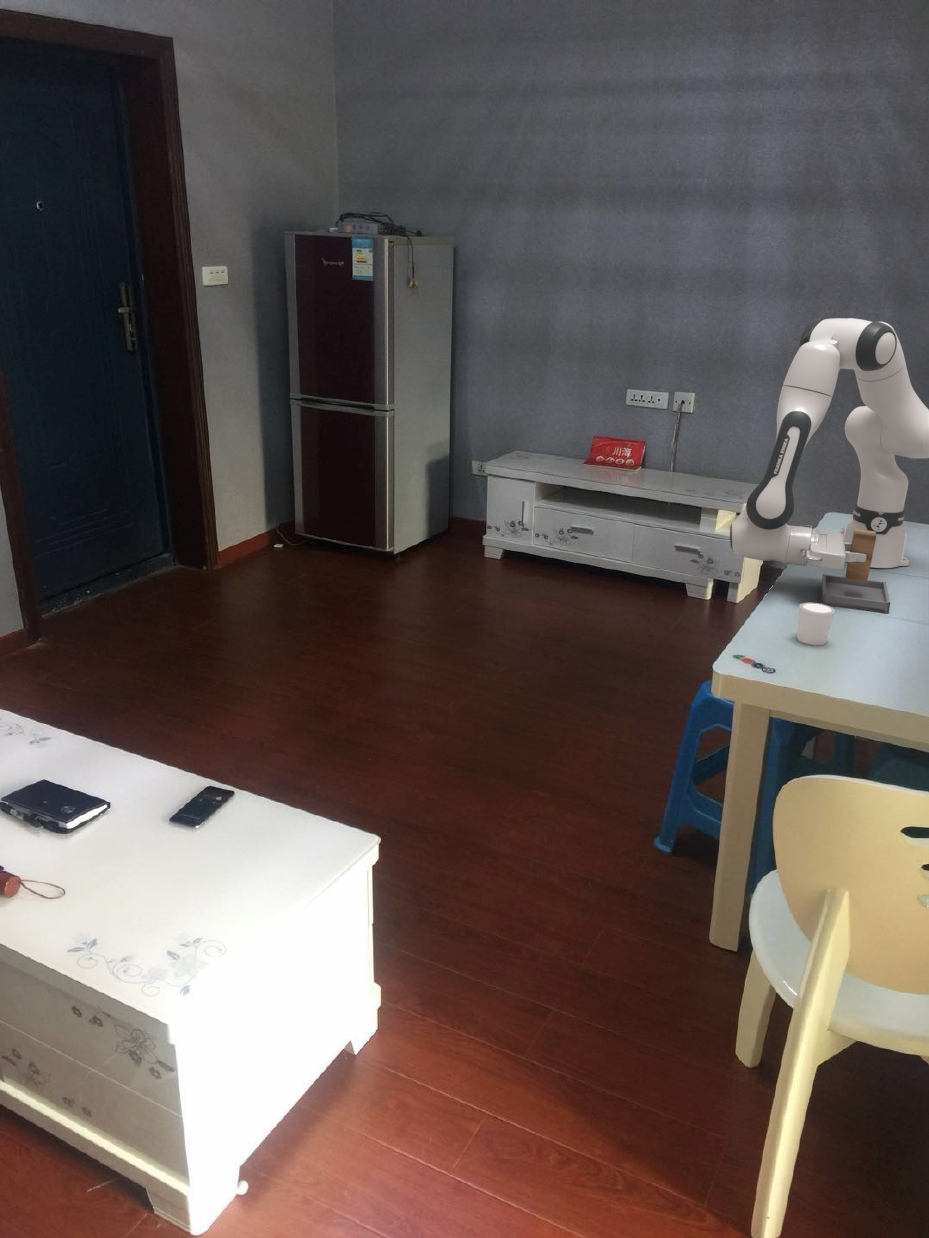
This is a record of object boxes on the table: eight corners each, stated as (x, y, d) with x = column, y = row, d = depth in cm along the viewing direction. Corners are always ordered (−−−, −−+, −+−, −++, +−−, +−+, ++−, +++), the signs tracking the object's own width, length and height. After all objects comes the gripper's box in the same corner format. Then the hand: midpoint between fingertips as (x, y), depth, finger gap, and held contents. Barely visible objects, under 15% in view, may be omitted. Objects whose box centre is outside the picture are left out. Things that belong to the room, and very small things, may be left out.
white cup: (829, 636, 198) (835, 604, 196) (829, 648, 192) (835, 615, 189) (794, 631, 200) (799, 600, 198) (793, 643, 194) (799, 610, 191)
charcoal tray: (821, 583, 231) (822, 574, 230) (883, 591, 227) (885, 582, 226) (821, 604, 217) (823, 594, 216) (888, 613, 213) (890, 603, 212)
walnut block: (845, 575, 223) (854, 528, 219) (866, 577, 221) (875, 531, 217) (845, 580, 219) (854, 533, 215) (866, 583, 217) (876, 536, 213)
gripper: (803, 544, 211) (870, 552, 207) (804, 522, 229) (866, 530, 225) (798, 571, 213) (864, 580, 209) (799, 548, 232) (860, 556, 228)
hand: (865, 554), depth 218 cm, fingers closed on walnut block, 4 cm apart
